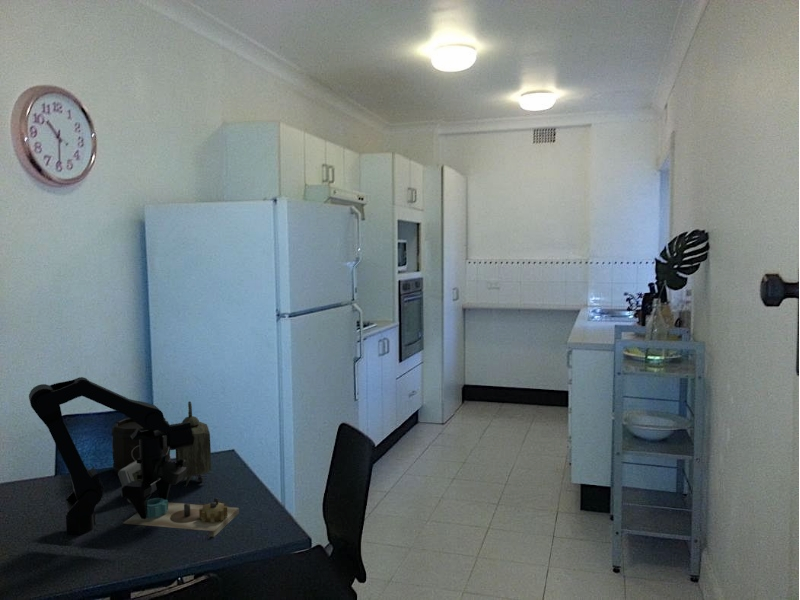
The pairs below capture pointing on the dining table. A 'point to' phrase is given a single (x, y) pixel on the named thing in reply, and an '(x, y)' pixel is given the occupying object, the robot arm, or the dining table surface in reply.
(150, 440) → the robot arm
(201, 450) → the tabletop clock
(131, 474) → the digital clock
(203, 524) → the gear board
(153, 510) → the teal gear
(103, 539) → the dining table surface
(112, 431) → the brown round pot
